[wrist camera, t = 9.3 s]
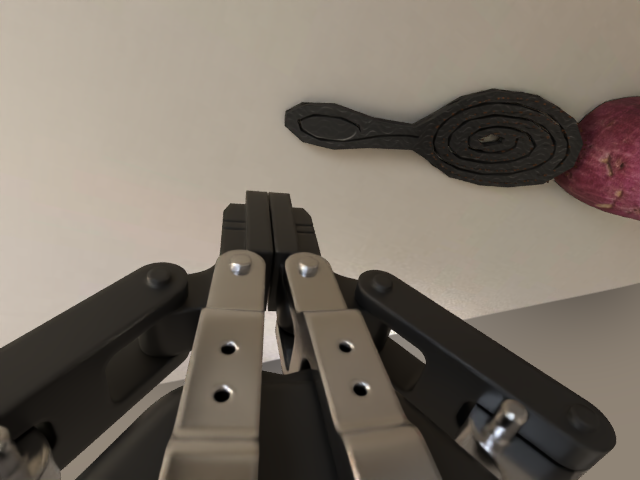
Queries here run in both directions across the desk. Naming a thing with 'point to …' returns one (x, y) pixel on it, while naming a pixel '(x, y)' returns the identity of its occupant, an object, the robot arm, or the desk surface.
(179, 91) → the desk surface
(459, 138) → the hairbrush
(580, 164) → the vegetable
